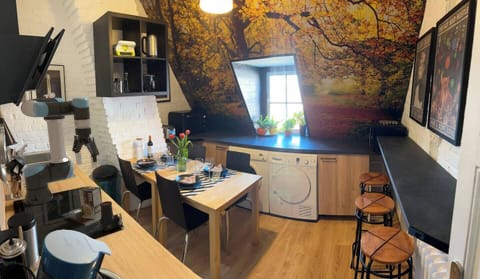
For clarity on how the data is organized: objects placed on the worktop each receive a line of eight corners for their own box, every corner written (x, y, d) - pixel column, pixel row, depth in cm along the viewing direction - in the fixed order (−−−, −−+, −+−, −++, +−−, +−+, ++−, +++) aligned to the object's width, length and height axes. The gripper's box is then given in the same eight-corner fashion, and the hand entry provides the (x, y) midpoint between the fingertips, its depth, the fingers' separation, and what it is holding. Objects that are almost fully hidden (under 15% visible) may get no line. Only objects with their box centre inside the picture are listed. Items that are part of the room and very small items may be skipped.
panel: (60, 217, 166) (60, 215, 166) (81, 209, 176) (81, 207, 176) (86, 226, 154) (85, 224, 154) (106, 217, 165) (106, 215, 165)
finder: (69, 217, 163) (68, 211, 163) (78, 213, 168) (77, 208, 167) (75, 219, 160) (75, 213, 160) (84, 216, 165) (83, 210, 164)
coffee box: (104, 214, 166) (101, 187, 163) (95, 219, 160) (92, 191, 157) (90, 213, 168) (87, 185, 166) (81, 217, 162) (78, 189, 160)
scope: (121, 201, 151) (101, 207, 143) (123, 227, 153) (104, 234, 146) (114, 197, 156) (94, 203, 149) (116, 222, 159) (97, 229, 151)
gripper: (62, 126, 160) (66, 164, 164) (90, 130, 148) (94, 171, 152) (75, 124, 167) (79, 161, 171) (104, 128, 154) (107, 167, 158)
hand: (86, 166), depth 161 cm, fingers open, 13 cm apart
